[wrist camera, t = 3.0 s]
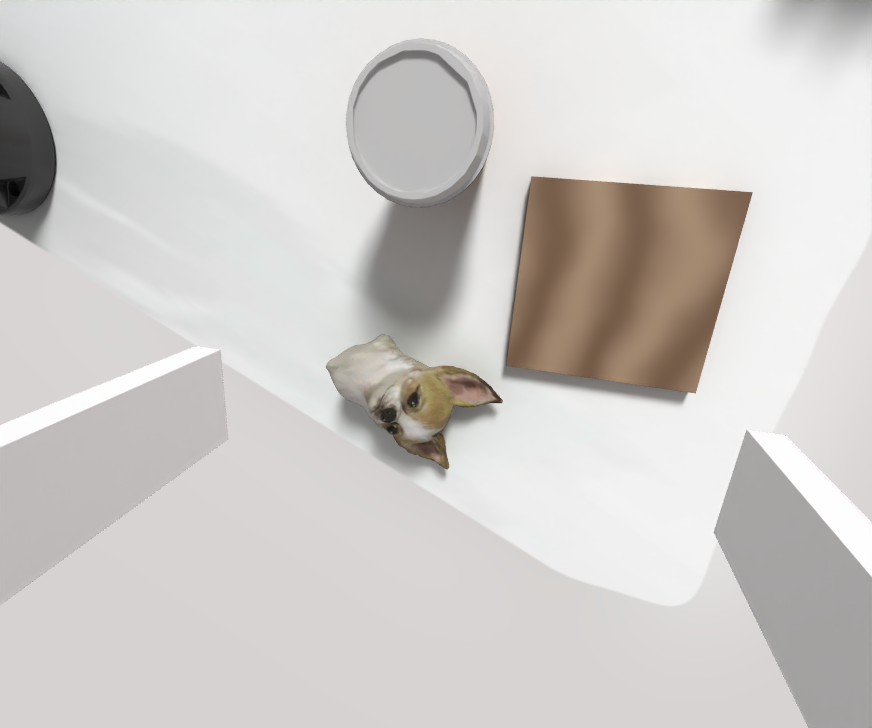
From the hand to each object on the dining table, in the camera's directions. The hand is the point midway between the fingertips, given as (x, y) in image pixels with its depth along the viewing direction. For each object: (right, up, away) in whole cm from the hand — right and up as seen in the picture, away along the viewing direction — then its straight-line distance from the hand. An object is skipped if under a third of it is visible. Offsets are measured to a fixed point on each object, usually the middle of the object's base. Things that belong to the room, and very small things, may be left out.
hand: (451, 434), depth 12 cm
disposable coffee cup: (+1, +20, +28) cm, 34 cm away
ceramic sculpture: (-2, 0, +36) cm, 36 cm away
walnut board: (+15, +8, +28) cm, 33 cm away
